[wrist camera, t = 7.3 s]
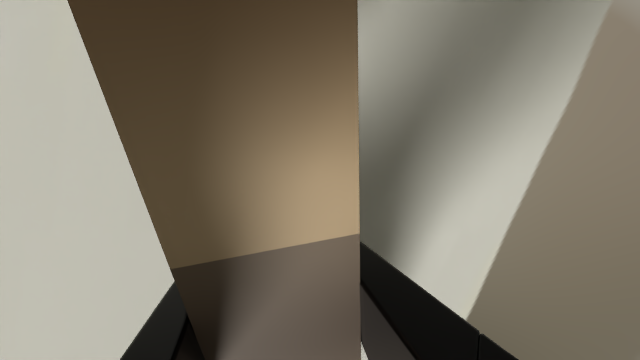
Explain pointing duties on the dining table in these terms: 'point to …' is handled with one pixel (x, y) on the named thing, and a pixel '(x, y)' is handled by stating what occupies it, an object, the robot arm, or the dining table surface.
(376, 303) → the robot arm
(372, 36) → the dining table surface
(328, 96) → the tan wooden plank
